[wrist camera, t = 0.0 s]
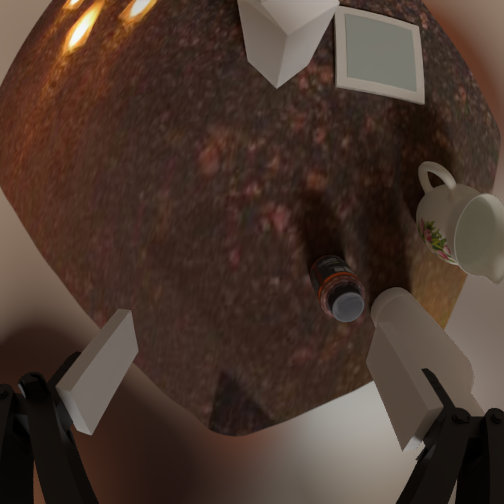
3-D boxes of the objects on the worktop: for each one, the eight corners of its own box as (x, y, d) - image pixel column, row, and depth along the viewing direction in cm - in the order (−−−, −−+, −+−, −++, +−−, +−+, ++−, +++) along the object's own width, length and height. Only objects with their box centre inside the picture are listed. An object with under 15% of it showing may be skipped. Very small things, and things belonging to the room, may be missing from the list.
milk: (247, 61, 34) (228, -26, 13) (279, 36, 33) (289, -58, 12) (277, 90, 36) (290, 19, 15) (309, 65, 34) (350, -16, 13)
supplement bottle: (321, 297, 45) (337, 338, 34) (301, 267, 43) (313, 303, 32) (354, 276, 43) (379, 312, 33) (335, 245, 42) (358, 274, 31)
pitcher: (425, 141, 36) (482, 140, 23) (471, 231, 40) (523, 257, 27) (376, 182, 39) (423, 195, 26) (429, 271, 43) (474, 309, 30)
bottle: (389, 334, 46) (464, 471, 18) (360, 314, 45) (436, 467, 17) (419, 300, 44) (520, 422, 16) (392, 277, 43) (504, 408, 15)
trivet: (333, 7, 31) (334, 4, 30) (415, 28, 30) (418, 26, 29) (335, 87, 35) (336, 85, 34) (421, 104, 35) (425, 103, 34)
